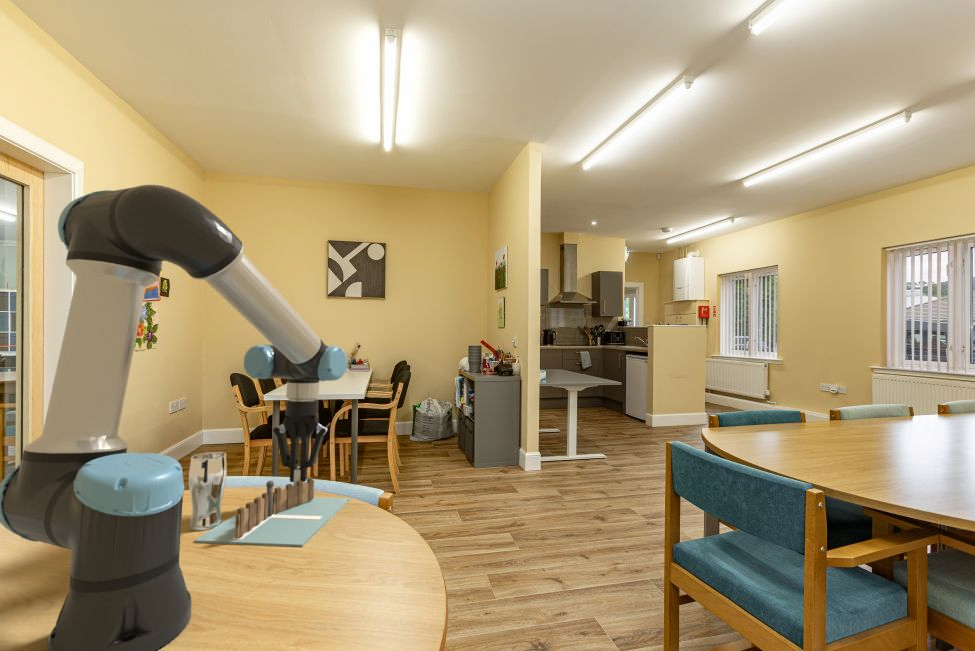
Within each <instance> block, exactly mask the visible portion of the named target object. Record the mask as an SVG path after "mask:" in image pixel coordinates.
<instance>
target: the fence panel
mask: <svg viewBox="0 0 975 651" xmlns="http://www.w3.org/2000/svg"><path fill="white" fill-rule="evenodd" d="M314 492H315V480H314V477H307V480H306V481H305V482H303V481H301V480H300V481H297V485H295V486H293V484H292V483H287V484H285V488H283V489H282V488H281V487H278V486H277V487H275V488H273V502H272V513H277V512H280V511H282V510H285V509H288V508H291V507H293V506H296V505H299V504H302V503H304V502H307V501H310V500H312V499H314V495H315V494H314Z"/></svg>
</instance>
